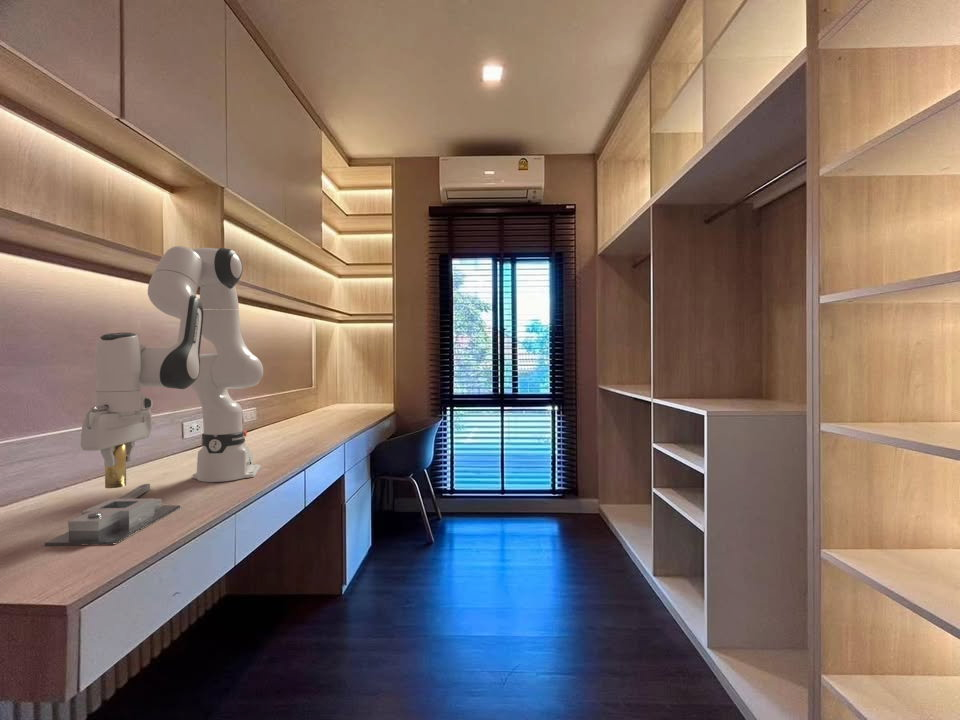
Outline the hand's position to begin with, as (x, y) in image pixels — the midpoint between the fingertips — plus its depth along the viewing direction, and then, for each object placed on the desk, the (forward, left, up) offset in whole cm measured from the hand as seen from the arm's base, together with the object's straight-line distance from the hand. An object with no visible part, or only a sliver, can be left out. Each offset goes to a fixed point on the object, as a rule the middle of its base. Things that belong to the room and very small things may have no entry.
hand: (118, 463), depth 122 cm
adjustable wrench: (-20, -8, -14) cm, 26 cm away
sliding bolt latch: (0, 0, -14) cm, 14 cm away
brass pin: (0, -1, -5) cm, 5 cm away
